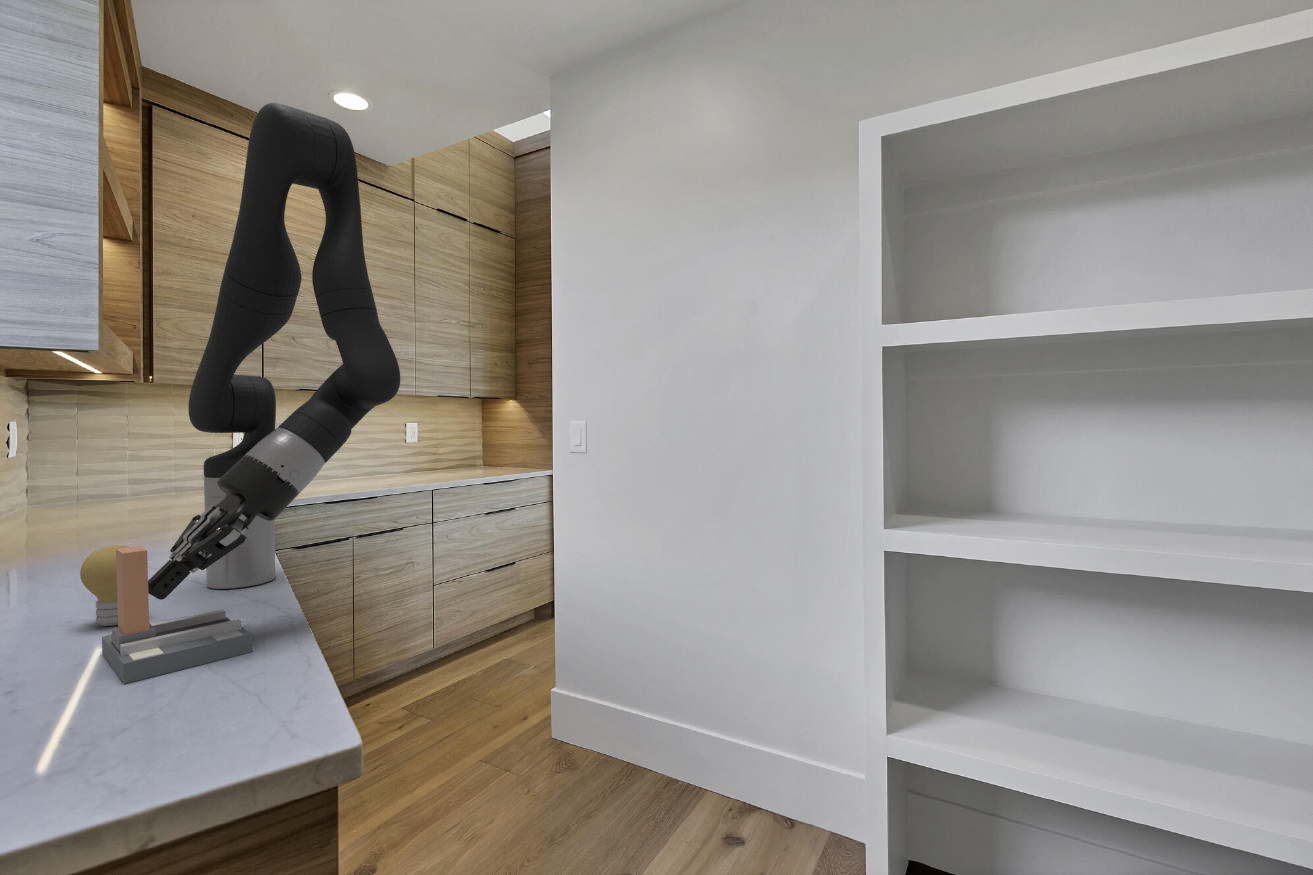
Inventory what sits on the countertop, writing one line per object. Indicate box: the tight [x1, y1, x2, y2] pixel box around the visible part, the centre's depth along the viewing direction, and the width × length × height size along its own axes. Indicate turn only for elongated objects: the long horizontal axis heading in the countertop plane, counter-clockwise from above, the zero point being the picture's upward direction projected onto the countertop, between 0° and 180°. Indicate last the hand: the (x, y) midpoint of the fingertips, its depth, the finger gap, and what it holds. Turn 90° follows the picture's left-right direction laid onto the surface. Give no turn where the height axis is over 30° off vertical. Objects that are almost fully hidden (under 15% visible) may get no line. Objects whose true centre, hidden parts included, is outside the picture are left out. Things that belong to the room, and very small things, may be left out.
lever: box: [111, 545, 156, 651], centre depth 65 cm, size 4×3×10 cm
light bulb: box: [79, 545, 130, 627], centre depth 79 cm, size 6×6×10 cm
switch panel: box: [101, 609, 253, 685], centre depth 68 cm, size 12×11×3 cm
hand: (151, 594), depth 67 cm, fingers closed
